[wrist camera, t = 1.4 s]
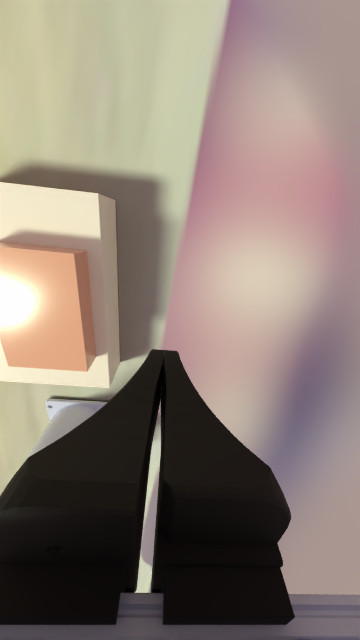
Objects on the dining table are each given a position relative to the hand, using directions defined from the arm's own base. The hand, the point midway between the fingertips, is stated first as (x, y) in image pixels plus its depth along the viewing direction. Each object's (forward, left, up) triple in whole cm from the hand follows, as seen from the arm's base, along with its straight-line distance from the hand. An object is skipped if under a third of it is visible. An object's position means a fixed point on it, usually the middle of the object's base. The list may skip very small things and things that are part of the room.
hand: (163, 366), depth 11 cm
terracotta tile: (0, +9, -6) cm, 11 cm away
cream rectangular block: (0, +10, -10) cm, 14 cm away
